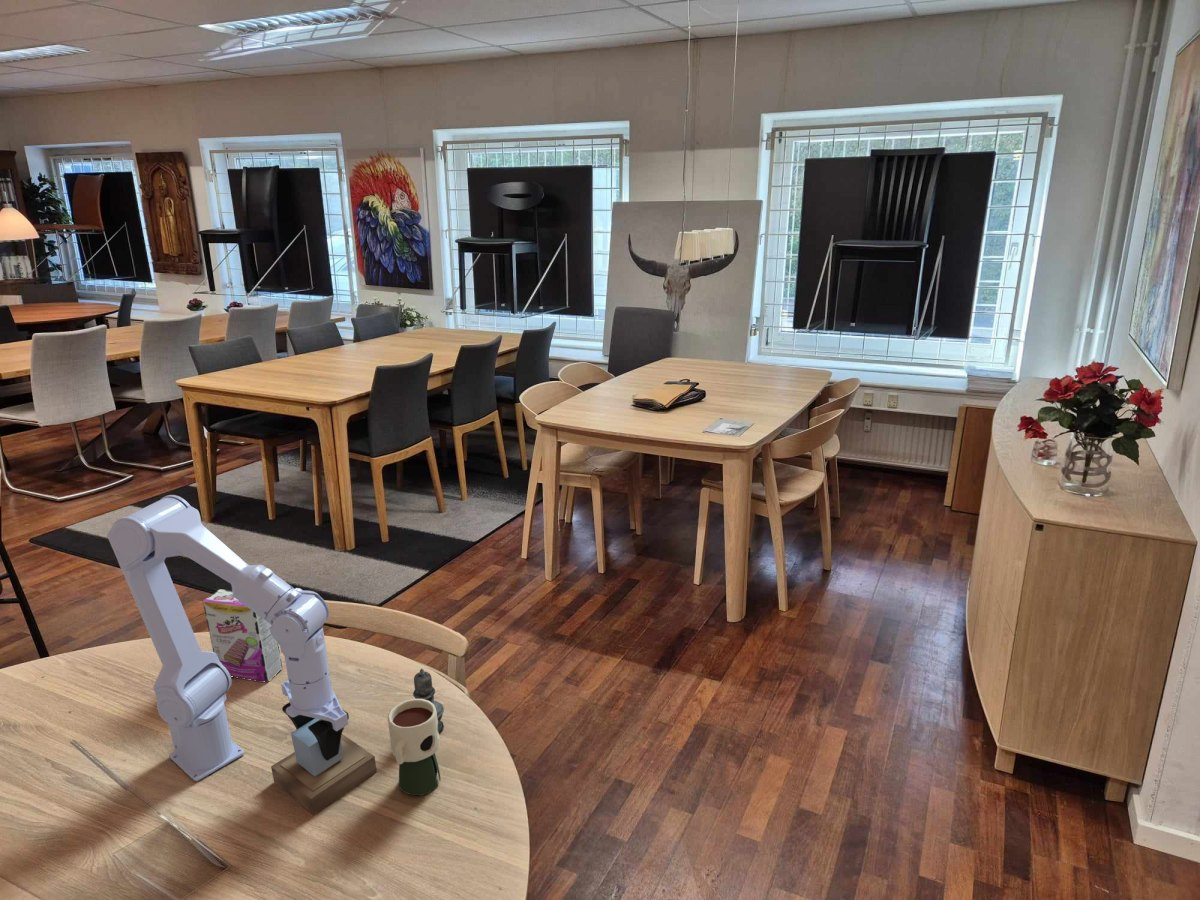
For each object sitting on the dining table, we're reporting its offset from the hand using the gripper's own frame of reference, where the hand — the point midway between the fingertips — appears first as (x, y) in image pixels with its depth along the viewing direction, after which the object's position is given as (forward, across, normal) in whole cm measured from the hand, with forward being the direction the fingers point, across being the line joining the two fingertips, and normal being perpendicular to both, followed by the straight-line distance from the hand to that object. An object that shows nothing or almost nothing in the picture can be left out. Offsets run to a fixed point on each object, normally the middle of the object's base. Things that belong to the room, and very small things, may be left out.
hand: (321, 748), depth 116 cm
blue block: (+2, 0, 0) cm, 2 cm away
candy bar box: (+6, -36, +7) cm, 37 cm away
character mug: (+6, +13, +8) cm, 16 cm away
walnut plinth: (+5, 0, 0) cm, 5 cm away
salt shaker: (+6, +4, +17) cm, 18 cm away
